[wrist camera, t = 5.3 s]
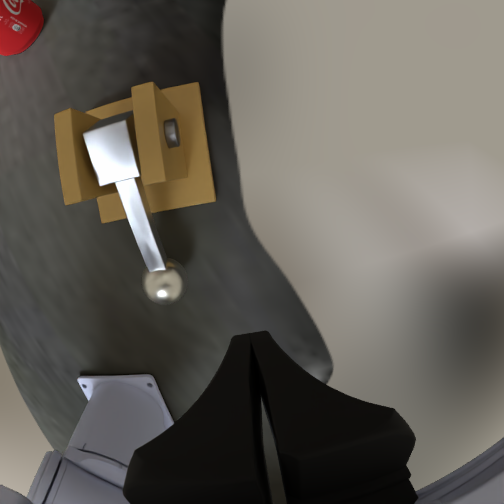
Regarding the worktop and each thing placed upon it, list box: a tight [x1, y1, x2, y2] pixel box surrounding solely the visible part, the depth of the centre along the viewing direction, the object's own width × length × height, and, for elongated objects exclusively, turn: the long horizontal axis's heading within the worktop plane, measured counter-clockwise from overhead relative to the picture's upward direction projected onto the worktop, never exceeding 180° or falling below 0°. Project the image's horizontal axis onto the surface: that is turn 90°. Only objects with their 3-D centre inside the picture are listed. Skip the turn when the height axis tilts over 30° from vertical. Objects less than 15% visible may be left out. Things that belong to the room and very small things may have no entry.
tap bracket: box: [54, 82, 216, 223], centre depth 14 cm, size 8×8×8 cm
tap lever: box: [83, 110, 188, 305], centre depth 15 cm, size 12×3×3 cm, turn 8°
